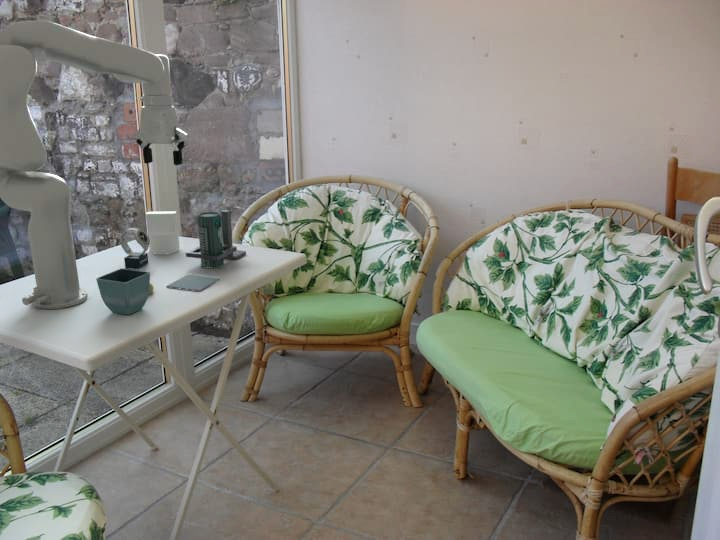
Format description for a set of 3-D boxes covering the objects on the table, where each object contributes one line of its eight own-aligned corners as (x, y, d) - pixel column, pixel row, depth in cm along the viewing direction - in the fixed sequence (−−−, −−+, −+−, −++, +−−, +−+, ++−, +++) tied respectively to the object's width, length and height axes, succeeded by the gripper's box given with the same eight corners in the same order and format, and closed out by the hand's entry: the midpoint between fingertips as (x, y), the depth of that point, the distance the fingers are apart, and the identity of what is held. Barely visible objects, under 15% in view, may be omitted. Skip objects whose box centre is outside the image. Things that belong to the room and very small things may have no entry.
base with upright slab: (182, 246, 210) (179, 209, 206) (176, 254, 201) (173, 215, 197) (153, 246, 209) (149, 209, 205) (146, 254, 201) (142, 216, 197)
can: (227, 264, 191) (224, 214, 186) (209, 269, 187) (205, 217, 182) (215, 260, 195) (212, 210, 190) (197, 264, 191) (193, 214, 186)
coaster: (199, 291, 169) (199, 290, 169) (166, 287, 172) (166, 285, 172) (219, 279, 178) (219, 278, 178) (188, 275, 181) (188, 274, 181)
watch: (146, 269, 187) (142, 231, 183) (119, 268, 188) (115, 230, 185) (154, 263, 192) (151, 226, 189) (129, 262, 193) (124, 225, 190)
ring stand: (218, 272, 185) (215, 223, 180) (187, 268, 188) (183, 220, 184) (249, 254, 201) (247, 209, 196) (219, 251, 204) (216, 207, 199)
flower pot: (125, 302, 162) (121, 267, 160) (154, 306, 159) (151, 271, 157) (99, 314, 155) (94, 278, 152) (130, 319, 152) (125, 283, 149)
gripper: (122, 101, 181) (129, 164, 186) (177, 103, 176) (182, 167, 181) (139, 100, 188) (145, 160, 193) (192, 101, 183) (197, 163, 188)
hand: (163, 163), depth 187 cm, fingers open, 9 cm apart
